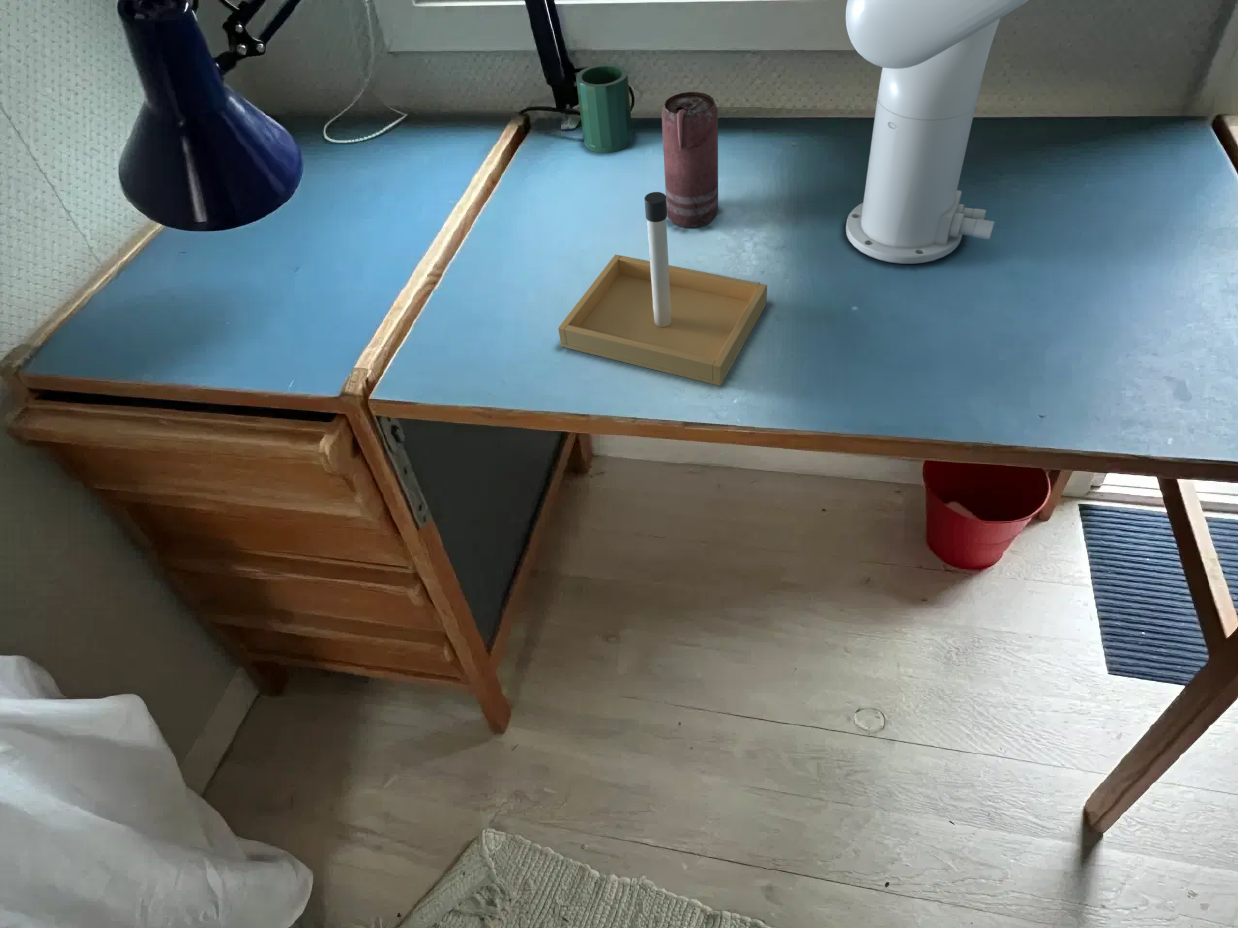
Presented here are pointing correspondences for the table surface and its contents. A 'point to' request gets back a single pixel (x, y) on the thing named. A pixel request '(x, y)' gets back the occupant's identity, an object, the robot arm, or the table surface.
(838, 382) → the table surface
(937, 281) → the table surface
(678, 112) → the can
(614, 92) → the tumbler
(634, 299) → the tray
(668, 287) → the marker
